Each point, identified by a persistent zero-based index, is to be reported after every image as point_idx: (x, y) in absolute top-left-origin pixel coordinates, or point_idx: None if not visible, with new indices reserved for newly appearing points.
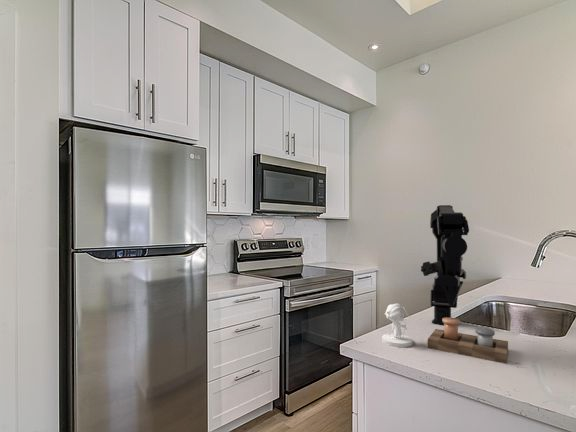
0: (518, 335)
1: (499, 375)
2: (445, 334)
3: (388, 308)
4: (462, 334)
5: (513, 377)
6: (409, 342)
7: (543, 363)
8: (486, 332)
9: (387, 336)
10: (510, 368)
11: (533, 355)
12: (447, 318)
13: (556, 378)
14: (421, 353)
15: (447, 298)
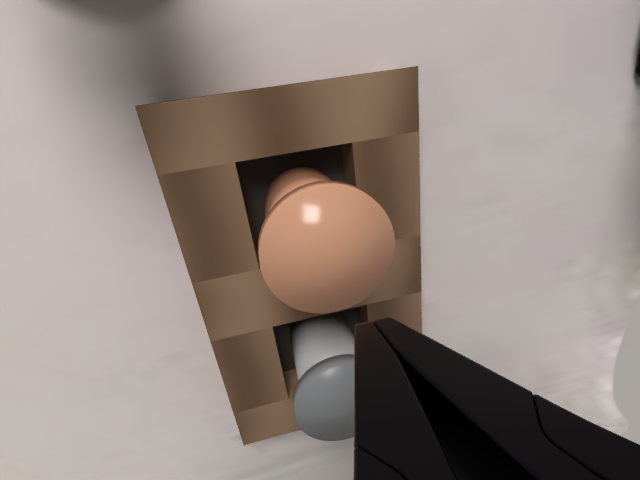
0: (600, 339)
1: (96, 435)
2: (271, 193)
3: None
4: (401, 236)
5: (123, 461)
6: None
7: (339, 463)
8: (305, 423)
9: None
10: (206, 431)
11: None
12: (349, 219)
13: None
14: (15, 110)
15: (357, 384)
